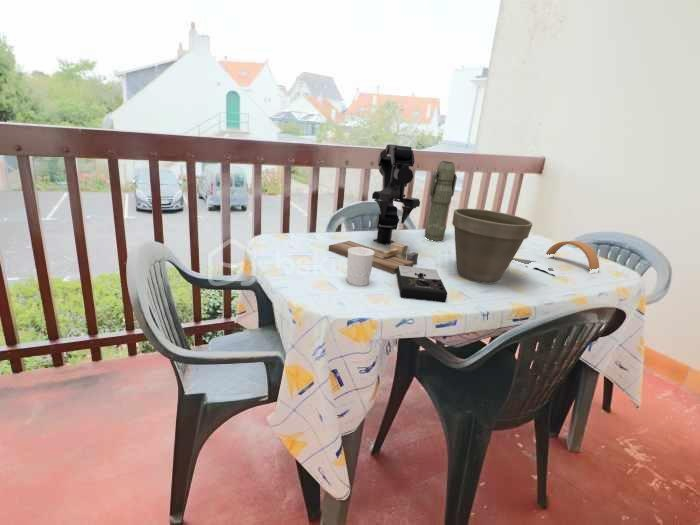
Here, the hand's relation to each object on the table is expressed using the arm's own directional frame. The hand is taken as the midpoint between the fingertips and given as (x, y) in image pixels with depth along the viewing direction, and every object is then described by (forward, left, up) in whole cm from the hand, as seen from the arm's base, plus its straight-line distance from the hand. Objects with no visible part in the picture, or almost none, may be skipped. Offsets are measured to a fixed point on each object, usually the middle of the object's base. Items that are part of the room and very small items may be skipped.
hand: (392, 220), depth 146 cm
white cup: (+36, +14, -12) cm, 41 cm away
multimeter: (+24, +28, -13) cm, 39 cm away
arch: (-52, +57, -12) cm, 78 cm away
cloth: (-34, +48, -13) cm, 60 cm away
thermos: (-33, +3, -12) cm, 36 cm away
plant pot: (-3, +36, -12) cm, 38 cm away
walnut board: (+13, +2, -12) cm, 18 cm away
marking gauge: (+11, +9, -12) cm, 18 cm away
